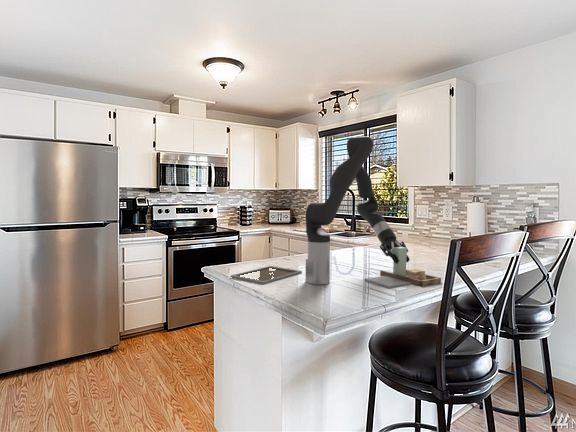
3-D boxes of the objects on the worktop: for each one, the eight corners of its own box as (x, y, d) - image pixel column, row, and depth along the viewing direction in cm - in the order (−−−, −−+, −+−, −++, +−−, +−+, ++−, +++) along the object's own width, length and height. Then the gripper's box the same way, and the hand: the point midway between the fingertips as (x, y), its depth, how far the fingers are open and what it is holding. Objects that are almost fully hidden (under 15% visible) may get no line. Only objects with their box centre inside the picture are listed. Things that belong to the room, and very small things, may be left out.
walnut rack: (421, 286, 143) (421, 281, 143) (380, 274, 163) (380, 270, 163) (440, 282, 149) (441, 278, 149) (398, 272, 169) (399, 268, 169)
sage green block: (398, 277, 158) (398, 248, 157) (393, 276, 161) (393, 247, 160) (406, 276, 161) (406, 247, 160) (401, 274, 163) (401, 246, 162)
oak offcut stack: (415, 283, 149) (415, 272, 148) (405, 280, 153) (406, 270, 153) (426, 281, 152) (427, 270, 152) (417, 278, 157) (417, 268, 156)
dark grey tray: (230, 275, 155) (273, 264, 179) (230, 279, 155) (273, 268, 179) (263, 282, 144) (305, 270, 168) (263, 286, 144) (305, 273, 168)
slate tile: (388, 288, 140) (388, 286, 140) (364, 280, 152) (364, 278, 152) (410, 284, 145) (410, 282, 145) (385, 277, 158) (385, 275, 158)
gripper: (377, 228, 162) (396, 258, 153) (399, 227, 169) (419, 255, 160) (368, 238, 167) (386, 268, 158) (390, 237, 174) (409, 265, 165)
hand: (402, 261), depth 159 cm, fingers open, 6 cm apart
